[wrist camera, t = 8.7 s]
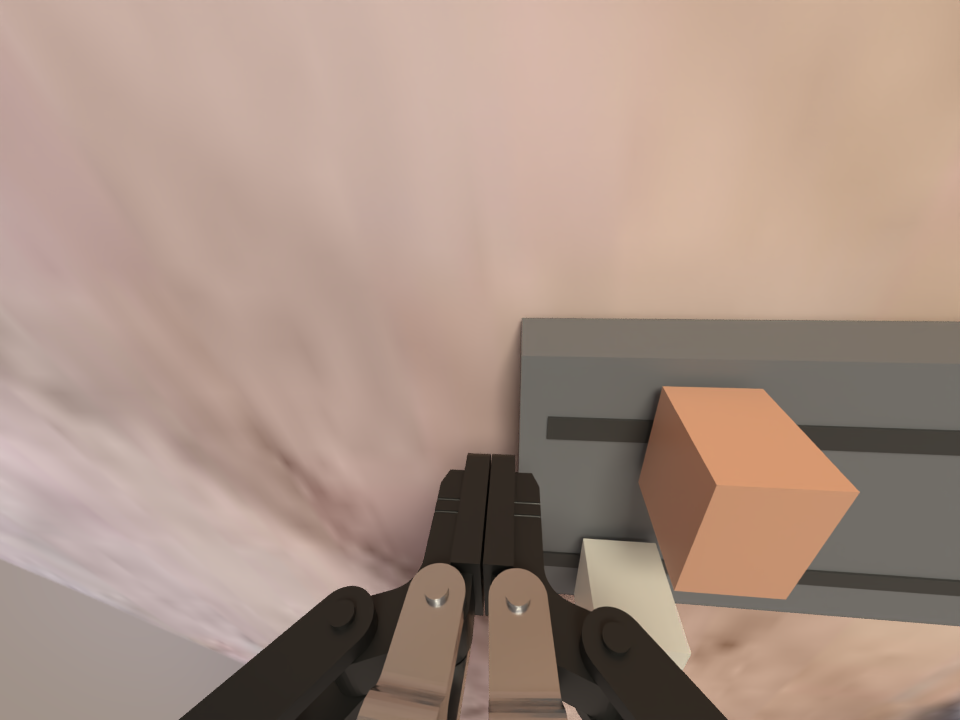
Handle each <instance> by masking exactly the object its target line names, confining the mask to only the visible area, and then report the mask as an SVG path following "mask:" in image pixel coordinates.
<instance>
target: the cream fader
mask: <svg viewBox="0 0 960 720" xmlns="http://www.w3.org/2000/svg"><path fill="white" fill-rule="evenodd" d="M574 599H575V605H578V606H580V607H582V608H585V609H587V610H589V611H593V610H594V609H596V608H599V607H604V606H608V607H615V608H618V609H620V610H622V611H624V612H626V613H628V614H629V615H630V616H632V617H633V618H634V619H635V620H636V621H637V622H638V623H639V624H640V625H641V627H642V628H643V629H644V630H645V631H646V632H647V633H648V634H649V635H650V636H651V637H652V638H653V639H654V641H655V642H656V643H657V644H658V645H659V646H660V647H661V648H662V649H663V650H664V651H665V652H666V654H667V655H668V656H669V657H670V658H671V659H672V660H673V661H674V662H675V663H676V664H677V665H678V667H679V668H680V669H681V670H683V669H684V667H685V665H686V663H687V661H688V659H689V657H690V655H691V651H690V648H689V645H688V642H687V639H686V636H685V633H684V630H683V626H682V623H681V620H680V617H679V614H678V611H677V608H676V605H675V602H674V599H673V595H672V592H671V589H670V586H669V583H668V580H667V577H666V574H665V571H664V568H663V564H662V561H661V558H660V555H659V552H658V549H657V546H656V543H645V542H630V541H615V540H600V539H584V538H583V542H582V549H581V555H580V561H579V567H578V573H577V579H576V585H575V591H574Z"/></svg>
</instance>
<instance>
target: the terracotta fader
mask: <svg viewBox="0 0 960 720" xmlns="http://www.w3.org/2000/svg"><path fill="white" fill-rule="evenodd" d="M638 483H639V486H640V489H641V492H642V495H643V498H644V501H645V504H646V507H647V510H648V513H649V516H650V519H651V522H652V525H653V529H654V532H655V535H656V538H657V541H658V544H659V547H660V550H661V553H662V556H663V559H664V562H665V565H666V568H667V571H668V574H669V577H670V580H671V583H672V586H673V589H674V591H683V592H696V593H708V594H721V595H734V596H747V597H760V598H773V599H785V600H786V599H787V597H788V596H789V594H790V593H791V591H792V590H793V589H794V587H795V586H796V584H797V583H798V581H799V580H800V578H801V577H802V575H803V574H804V573H805V571H806V570H807V568H808V567H809V565H810V564H811V562H812V561H813V560H814V558H815V557H816V555H817V554H818V552H819V551H820V549H821V548H822V547H823V545H824V544H825V542H826V541H827V539H828V538H829V536H830V535H831V533H832V532H833V531H834V529H835V528H836V526H837V525H838V523H839V522H840V520H841V519H842V518H843V516H844V515H845V513H846V512H847V510H848V509H849V507H850V506H851V505H852V503H853V502H854V500H855V499H856V497H857V496H858V494H859V493H860V492H859V491H858V490H857V489H856V488H855V487H854V485H853V484H852V483H851V482H850V481H849V480H848V479H847V478H846V477H845V476H844V475H843V474H842V473H841V472H840V471H839V469H838V468H837V467H836V466H835V465H834V464H833V463H832V462H831V461H830V460H829V459H828V458H827V457H826V456H825V455H824V453H823V452H822V451H821V450H820V449H819V448H818V447H817V446H816V445H815V444H814V443H813V442H812V441H811V440H810V439H809V437H808V436H807V435H806V434H805V433H804V432H803V431H802V430H801V429H800V428H799V427H798V426H797V425H796V424H795V423H794V421H793V420H792V419H791V418H790V417H789V416H788V415H787V414H786V413H785V412H784V411H783V410H782V409H781V408H780V407H779V405H778V404H777V403H776V402H775V401H774V400H773V399H772V398H771V397H770V396H769V395H768V394H767V393H766V392H765V391H764V389H749V388H710V387H671V386H662V390H661V394H660V398H659V402H658V406H657V410H656V414H655V418H654V422H653V426H652V430H651V434H650V438H649V442H648V446H647V450H646V454H645V458H644V462H643V465H642V469H641V473H640V477H639V481H638Z"/></svg>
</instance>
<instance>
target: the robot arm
mask: <svg viewBox="0 0 960 720" xmlns="http://www.w3.org/2000/svg"><path fill="white" fill-rule="evenodd" d="M484 596H485V614H486V616H489V718H488V720H568V719H567V714H566V710H565V707H564V706H563V703H562V701H564V702H565V703H567V704H569V705H571V706H573V707H575V708H576V710H577V712H578V714H579V715H580V717H581V718H582V720H728V719H727V718H726V717H725V716H724V715H723V714H722V713H721V712H720V711H719V710H718V709H717V708H716V707H715V705H714V704H713V703H712V702H711V701H710V700H709V699H708V698H707V697H706V696H705V695H704V694H703V692H702V691H701V690H700V689H699V688H698V687H697V686H696V685H695V684H694V683H693V682H692V681H691V679H690V678H689V677H688V676H687V675H686V674H685V673H684V672H683V671H682V670H681V669H680V668H679V667H678V665H677V664H676V663H675V662H674V661H673V660H672V659H671V658H670V657H669V656H668V655H667V654H666V652H665V651H664V650H663V649H662V648H661V647H660V646H659V645H658V644H657V643H656V642H655V641H654V639H653V638H652V637H651V636H650V635H649V634H648V633H647V632H646V631H645V630H644V629H643V628H642V627H641V625H640V624H639V623H638V622H637V621H636V620H635V619H634V618H633V617H632V616H630V615H629V614H628V613H626V612H624V611H622V610H620V609H618V608H615V607H608V606H604V607H599V608H596V609H594V610H593V611H589V610H587V609H585V608H582V607H580V606H578V605H575V604H573V603H571V602H569V601H567V600H565V599H564V598H562V597H561V596H560V595H558V594H557V593H556V592H555V591H554V589H553V588H552V587H551V585H550V584H549V582H548V580H547V578H546V575H545V571H544V559H543V541H542V523H541V505H540V488H539V485H538V483H537V481H536V480H535V478H534V476H533V474H532V473H519V472H515V455H501V454H492V463H491V454H473V453H468V455H467V460H466V466H465V470H450V471H449V473H448V474H447V475H446V477H445V478H444V479H443V481H442V482H441V485H440V490H439V494H438V500H437V503H436V507H435V513H434V516H433V521H432V525H431V530H430V534H429V538H428V543H427V547H426V552H425V556H424V560H423V563H422V566H421V568H420V570H419V571H418V573H417V574H416V575H415V576H414V577H413V578H412V579H411V580H410V581H409V582H408V583H406V584H405V585H403V586H401V587H399V588H396V589H394V590H390V591H386V592H383V593H379V594H376V595H372V596H370V594H369V593H368V592H367V591H366V590H364V589H363V588H360V587H357V586H347V587H343V588H340V589H338V590H336V591H334V592H333V593H331V594H330V595H328V596H327V597H326V598H325V599H324V600H322V601H321V602H320V603H319V604H318V605H316V606H315V607H314V608H313V609H312V610H310V611H309V612H308V613H307V614H306V615H304V616H303V617H302V618H301V619H299V620H298V621H297V622H296V623H295V624H293V625H292V626H291V627H290V628H289V629H287V630H286V631H285V632H284V633H283V634H281V635H280V636H279V637H278V638H277V639H275V640H274V641H273V642H272V643H271V644H269V645H268V646H267V647H266V648H265V649H263V650H262V651H261V652H260V653H259V654H257V655H256V656H255V657H254V658H253V659H251V660H250V661H249V662H248V663H247V664H245V665H244V666H243V667H242V668H241V669H239V670H238V671H237V672H236V673H234V674H233V675H232V676H231V677H230V678H228V679H227V680H226V681H225V682H224V683H223V684H221V685H220V686H219V687H218V688H216V689H215V690H214V691H213V692H212V693H210V694H209V695H208V696H207V697H206V698H205V699H203V700H202V701H201V702H200V703H198V704H197V705H196V706H195V707H194V708H192V709H191V710H190V711H189V712H188V713H186V714H185V715H184V716H183V717H181V718H180V719H179V720H459V719H460V713H461V707H462V700H463V694H464V688H465V682H466V675H467V669H468V663H469V657H470V650H471V643H472V636H473V626H474V615H483V610H484Z"/></svg>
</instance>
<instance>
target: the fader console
mask: <svg viewBox="0 0 960 720" xmlns="http://www.w3.org/2000/svg"><path fill="white" fill-rule="evenodd" d="M662 386H671V387H710V388H749V389H764V391H765V392H766V393H767V394H768V395H769V396H770V397H771V398H772V399H773V400H774V401H775V402H776V403H777V404H778V405H779V407H780V408H781V409H782V410H783V411H784V412H785V413H786V414H787V415H788V416H789V417H790V418H791V419H792V420H793V421H794V423H795V424H796V425H797V426H798V427H799V428H800V429H801V430H802V431H803V432H804V433H805V434H806V435H807V436H808V437H809V439H810V440H811V441H812V442H813V443H814V444H815V445H816V446H817V447H818V448H819V449H820V450H821V451H822V452H823V453H824V455H825V456H826V457H827V458H828V459H829V460H830V461H831V462H832V463H833V464H834V465H835V466H836V467H837V468H838V469H839V471H840V472H841V473H842V474H843V475H844V476H845V477H846V478H847V479H848V480H849V481H850V482H851V483H852V484H853V485H854V487H855V488H856V489H857V490H858V491H859V492H860V493H859V494H858V496H857V497H856V499H855V500H854V502H853V503H852V505H851V506H850V507H849V509H848V510H847V512H846V513H845V515H844V516H843V518H842V519H841V520H840V522H839V523H838V525H837V526H836V528H835V529H834V531H833V532H832V533H831V535H830V536H829V538H828V539H827V541H826V542H825V544H824V545H823V547H822V548H821V549H820V551H819V552H818V554H817V555H816V557H815V558H814V560H813V561H812V562H811V564H810V565H809V567H808V568H807V570H806V571H805V573H804V574H803V575H802V577H801V578H800V580H799V581H798V583H797V584H796V586H795V587H794V589H793V590H792V591H791V593H790V594H789V596H788V597H787V599H786V600H785V599H773V598H760V597H747V596H734V595H721V594H708V593H696V592H683V591H674V589H673V586H672V583H671V580H670V577H669V574H668V571H667V568H666V565H665V562H664V559H663V556H662V553H661V550H660V547H659V544H658V541H657V538H656V535H655V532H654V529H653V525H652V522H651V519H650V516H649V513H648V510H647V507H646V504H645V501H644V498H643V495H642V492H641V489H640V486H639V483H638V481H639V477H640V473H641V469H642V465H643V462H644V458H645V454H646V450H647V446H648V442H649V438H650V434H651V430H652V426H653V422H654V418H655V414H656V410H657V406H658V402H659V398H660V394H661V390H662ZM518 472H519V473H532V474H533V476H534V478H535V480H536V481H537V483H538V485H539V488H540V505H541V523H542V541H543V559H544V571H545V575H546V578H547V580H548V582H549V584H550V585H551V587H552V588H553V589H554V591H555V592H556V593H557V594H568V595H574V591H575V585H576V579H577V573H578V567H579V561H580V555H581V549H582V542H583V538H584V539H600V540H615V541H630V542H645V543H656V546H657V549H658V552H659V555H660V558H661V561H662V564H663V568H664V571H665V574H666V577H667V580H668V583H669V586H670V589H671V592H672V595H673V599H674V602H675V603H679V604H692V605H704V606H716V607H729V608H741V609H753V610H766V611H778V612H790V613H803V614H815V615H827V616H840V617H852V618H864V619H877V620H889V621H901V622H914V623H926V624H938V625H951V626H960V322H933V321H814V320H695V319H576V318H522V335H521V379H520V423H519V467H518Z"/></svg>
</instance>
